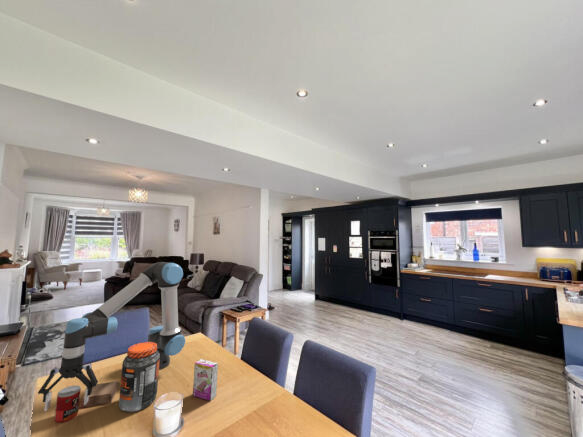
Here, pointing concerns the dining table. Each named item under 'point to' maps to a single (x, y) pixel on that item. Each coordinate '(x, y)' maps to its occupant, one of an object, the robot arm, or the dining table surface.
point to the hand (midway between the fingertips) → (66, 406)
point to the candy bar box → (205, 379)
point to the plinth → (101, 394)
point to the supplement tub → (139, 377)
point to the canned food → (67, 403)
